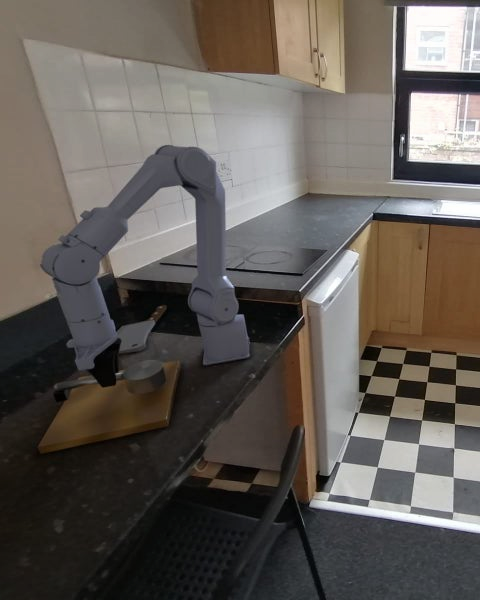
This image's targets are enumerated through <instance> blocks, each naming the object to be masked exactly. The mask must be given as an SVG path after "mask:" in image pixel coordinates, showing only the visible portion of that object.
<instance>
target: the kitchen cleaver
mask: <svg viewBox="0 0 480 600" xmlns="http://www.w3.org/2000/svg"><path fill="white" fill-rule="evenodd" d="M167 309H168V307H167V305H166V304H161V305H159V306H157V307H156V308H155V311H154V312H152V314H151V315H150V317H148V318H147V319H146V320H144V321H139V322H134V323H129V324H125V325H122V326H121V327H120V328H119V329H118V330H117V331H116V333H117V336H118V338H120V339H121V341H122V342H121V345H120V350H119V355H121V354H128V353H137V352H141V351H143V350H145V349H146V348H147V346H146V345H147V344H146V342H147V338H148V336H149V334H150V332H151V331H152V330H153V328H154V326H156V324H157V322H158V321H159V320H160V318H161V317H162V316H163V314H164V313H165V312H166V310H167Z"/></svg>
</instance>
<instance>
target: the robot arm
mask: <svg viewBox="0 0 480 600" xmlns="http://www.w3.org/2000/svg"><path fill="white" fill-rule="evenodd" d="M177 186H180V187H182V188H183V189H184V190H185V191H186V192H187V193H188V194H190V196H192V197H193V198H194V201H195V202H194V203H195V204H194V205H195V233H196V235H195V237H196V267H197V269H196V270H197V275H196V276H195V278H193V280H192V281H191V290H190V292H189V294H188V297H187V304H188V307H189V309H190V310H191V311H192V312H194V313H195V314H196V318H197V323H198V329H199V332H200V335H201V337H200V338H201V341H202V345H203V346H202V347H203V350H204V351H203V360H202V365H203V366H210V365H211V366H212V365H216V364H220V363H228V362H232V361H233V362H234V361H237V360H244V359H249V358H250V345H251V342H250V337H249V336H248V332H247V325H246V319H245V315H244V314H238V312H239V307H240V306H239V305H240V304H239V301H238V299H237V298H236V293H235V287H234V285H233V284H232V283H231V281H230V280H229V279H228V276H227V235H226V234H227V233H226V231H227V227H226V190H225V187H224V185H223V182H222V180H221V178H220V175H219V174H218V172H217V161H216V160H215V159H213V158H212V157H211V155H210V154H208V153H207V152H206V151H205V150H204V149H203V148H200V147H198V146H179V145H178V146H176V145H172V144H164V145H161V146H160V147H158V148H156V150H155V151H154V154H150V155H149V156H148V157H146V158H145V160H144V162H143V164H142V165H141V167H140V168H139V169H138V170H137V171H136V173H135V174H134V175H133V176H132V177H131V178H130V180H129V181H128V182H127V183H126V184H125V185H124V187H123V188H122V189H121V190H120V191H119V192H118V194H117V195H116V196H115V197H114V198H113V199H112V201H110V203H109V204H108V205H107V206H102V207H101V206H100V207H99V206H98V207H97V206H96V207H93V208H92V209H91V210H84V211H82V212H81V213H80V214H79V216H80V218H82V219H81V220H80V221H79V222H78V223H77V224H76V225H75V226H74V227H73V228H72V229H71V230H70V231H69V232H68V233H67V234H66V235H64V234H62V235H60V237H59V238H58V241H59V242H60V243H56V244H52V245H50V246H49V247H48V248H46V249H45V250H44V252H43V253H42V256H41V258H42V259H41V261H40V262H41V263H40V264H39V267H40V268H41V270H42V271H43V272H44V273H45V274H46V275H48V276H50V277H52V278H51V280H52V283H53V286H54V289H55V291H56V297H57V299H58V303H59V305H60V307H61V310H62V313H63V316H64V318H65V321H66V323H67V326H68V329H69V331H70V334H71V336H72V339H69V340H68V341H67V343H66V348H68V349H72V348H74V352H75V358H74V362H75V365H76V367H77V370H78V372H79V371H85V370H86V372H88V373H89V374H90V376H91V375H92V376H93V377H94V378H95V379H96V381H97V382H98V383H99V384H100V386H101V387H102V388H104V387H110V386H115V385H116V381H117V380H116V373H119V371H120V364H119V358H120V354H119V350H120V345H121V342H122V341H121V339H120V338H118V336H117V333H116V332H117V331H116V326H115V322H114V320H113V319H112V318H111V317H110V316H111V315H110V313H109V310H108V307H107V303H106V301H105V297H104V295H103V292H102V289H101V286H100V283H99V281H98V275H99V273H100V271H101V264H100V263H101V261H102V260H103V259H104V258H105V257H106V256H107V255H108V254H109V252H111V250H113V248H114V247H115V246H116V245H117V244H118V243H119V242H120V241H121V240H122V239H123V237H124V236H126V234H128V231H129V225H128V220H129V219H130V218H131V217H132V216H133V215H134V214H136V212H137V211H138V210H139V209H141V208H142V207H143V206H144V205H145V204H146V203H147V202H148V201H149V200H151V198H153V196H154V195H155V194H156V193H158V192H159V190H161V189H166V188H172V187H177Z"/></svg>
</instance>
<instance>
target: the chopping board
mask: <svg viewBox="0 0 480 600" xmlns="http://www.w3.org/2000/svg"><path fill="white" fill-rule="evenodd" d="M162 364H163V367H164V370H165V374H166V377H167V380H166V382H165V384H164V385H163V386H161V387H160V388H158V389H157V390H155V391H152V392H149V393H145V394H132V393H130V392H128V390H127V387H126V384H125V381H124V380H120V381H116V385H115V386H110V387H104V388H102V387H101V386H100V384H97V385H92V386H86V387H80V388H74V389H70V391H69V393H70V396H69V398H68V400H66V401H63V403H62V405H61V406H60V408H59V411H58V412H57V413H56V415H55V417H54V419H53V420H52V422H51V424H50V425H49V427H48V428H47V430H46V432H45V434H44V435H43V437H42V438H41V440H40V442H39V444H38V445H37V449H38V451H39V453H40V455H43V454H47V453H52V452H56V451H62V450H64V449H70V448H74V447H80V446H84V445H87V444H93V443H97V442H101V441H106V440H111V439H115V438H120V437H125V436H130V435H133V434H139V433H143V432H147V431H153V430H157V429H162V428H166V427H169V424H170V419H171V414H172V410H173V405H174V400H175V396H176V391H177V387H178V381H179V376H180V371H181V366H182V365H181V362H180V360H179V359H178V360H174V361H173V360H172V361H167V362H162ZM124 370H125V369H119V373H121V372H124ZM92 377H93V376H92V375H91V374H90V375H85V376H81V377H80V376H79V377H77V380H80V379H86V378H92Z"/></svg>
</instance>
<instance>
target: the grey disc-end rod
mask: <svg viewBox="0 0 480 600" xmlns="http://www.w3.org/2000/svg"><path fill="white" fill-rule="evenodd" d="M162 363H163V362H162V361H161V360H158V359H145V360H142V361H138V362H135V363H132V364H131V365H129V366H128V367H126V368H124V369H123V370H124V372H121V373H116V380H117V381H120V380H124V381H125V384H126V387H127V390H128V392H130V393H132V394H145V393H149V392H152V391H155V390H157V389H158V388H160V387H161V386H163V385H164V384H165V382H166V380H167V377H166V374H165V370H164V367H163V364H162ZM97 384H99V383H98V382H97V381H96V379H95V378H94V377H92V378H86V379H80V380H78V379H75V380H69V381H63V382H58V383H55V384H54V385H53V390H54V392H53V394H52V395H53V397H54V400H55V402H56V403H60V402H65V401H66V400H68V398H69V396H70V390H72V389H74V388H80V387H86V386H92V385H97Z"/></svg>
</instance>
